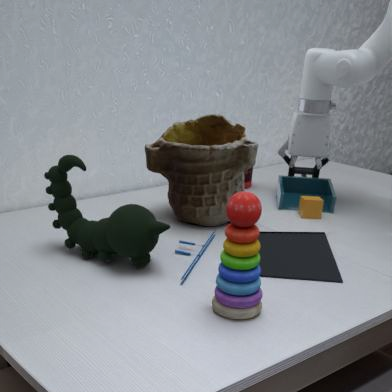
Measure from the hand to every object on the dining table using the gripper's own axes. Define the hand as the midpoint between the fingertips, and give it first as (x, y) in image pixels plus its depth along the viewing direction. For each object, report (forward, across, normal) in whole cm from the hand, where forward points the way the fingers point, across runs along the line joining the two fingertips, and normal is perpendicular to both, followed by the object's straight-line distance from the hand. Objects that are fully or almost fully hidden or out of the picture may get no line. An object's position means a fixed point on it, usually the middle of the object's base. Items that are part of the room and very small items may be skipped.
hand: (302, 182), depth 132 cm
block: (+2, 0, +15) cm, 15 cm away
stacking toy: (+4, +17, +65) cm, 67 cm away
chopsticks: (+4, +26, +45) cm, 52 cm away
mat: (+4, +6, +35) cm, 36 cm away
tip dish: (+3, 0, +6) cm, 7 cm away
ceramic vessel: (+4, +26, +22) cm, 34 cm away
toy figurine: (+4, +40, +49) cm, 64 cm away
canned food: (+4, +17, -5) cm, 18 cm away
